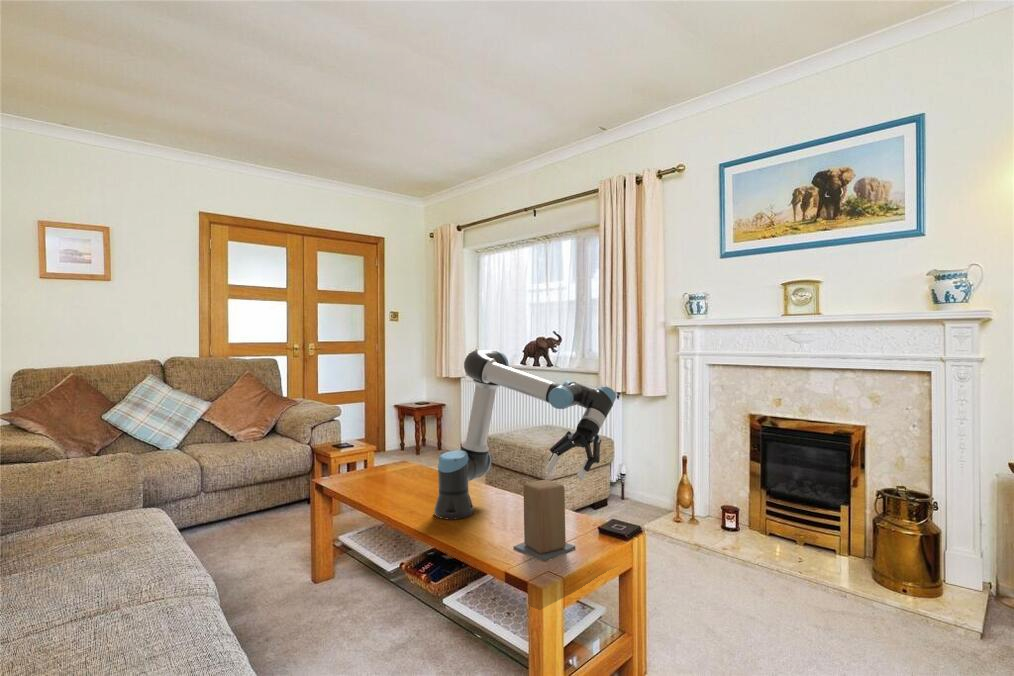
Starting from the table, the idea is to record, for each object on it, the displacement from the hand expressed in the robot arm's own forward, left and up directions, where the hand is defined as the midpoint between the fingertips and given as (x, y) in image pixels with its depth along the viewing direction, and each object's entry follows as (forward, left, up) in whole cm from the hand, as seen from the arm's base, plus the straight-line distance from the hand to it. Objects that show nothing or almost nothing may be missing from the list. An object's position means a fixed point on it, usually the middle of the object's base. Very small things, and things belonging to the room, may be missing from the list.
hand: (563, 474), depth 170 cm
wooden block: (0, -10, -21) cm, 23 cm away
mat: (0, -10, -22) cm, 24 cm away
